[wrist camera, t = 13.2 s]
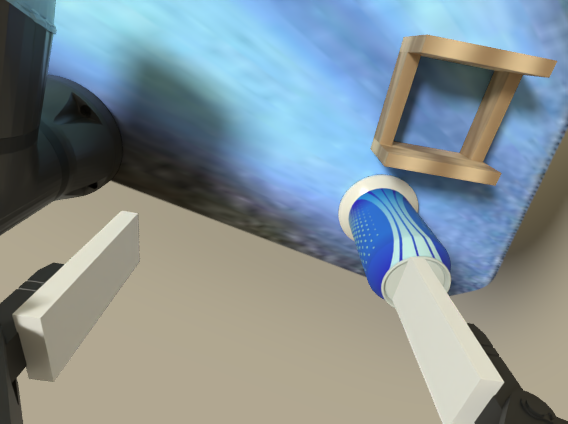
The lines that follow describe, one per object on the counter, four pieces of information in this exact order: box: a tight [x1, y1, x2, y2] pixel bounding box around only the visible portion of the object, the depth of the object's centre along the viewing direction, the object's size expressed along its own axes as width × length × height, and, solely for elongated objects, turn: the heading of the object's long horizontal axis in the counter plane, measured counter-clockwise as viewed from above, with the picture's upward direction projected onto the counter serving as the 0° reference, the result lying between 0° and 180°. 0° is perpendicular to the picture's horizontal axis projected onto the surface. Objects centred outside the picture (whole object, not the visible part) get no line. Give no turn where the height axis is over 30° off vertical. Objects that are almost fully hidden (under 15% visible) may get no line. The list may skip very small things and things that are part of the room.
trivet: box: [338, 174, 418, 241], centre depth 46 cm, size 11×11×1 cm
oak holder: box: [371, 35, 557, 185], centre depth 37 cm, size 13×13×7 cm
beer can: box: [348, 188, 451, 308], centre depth 39 cm, size 8×8×16 cm
